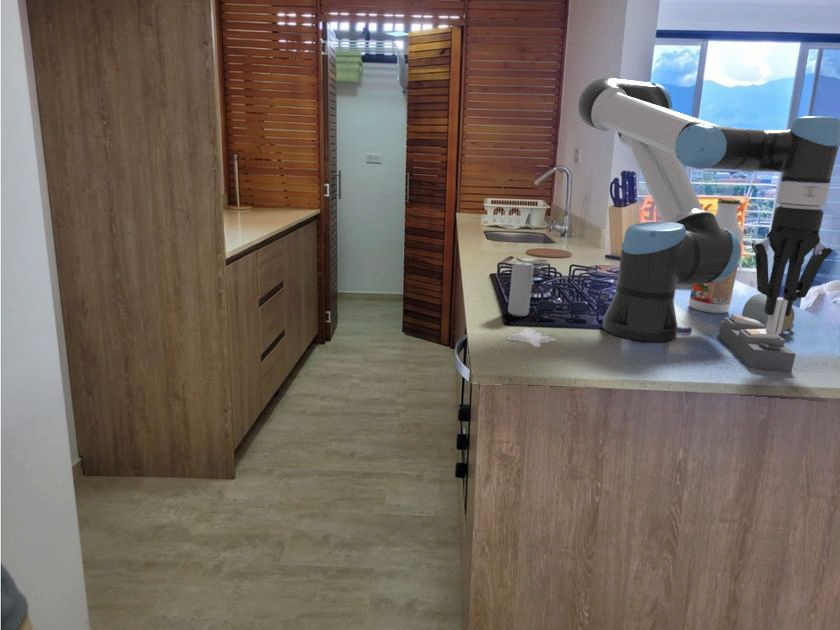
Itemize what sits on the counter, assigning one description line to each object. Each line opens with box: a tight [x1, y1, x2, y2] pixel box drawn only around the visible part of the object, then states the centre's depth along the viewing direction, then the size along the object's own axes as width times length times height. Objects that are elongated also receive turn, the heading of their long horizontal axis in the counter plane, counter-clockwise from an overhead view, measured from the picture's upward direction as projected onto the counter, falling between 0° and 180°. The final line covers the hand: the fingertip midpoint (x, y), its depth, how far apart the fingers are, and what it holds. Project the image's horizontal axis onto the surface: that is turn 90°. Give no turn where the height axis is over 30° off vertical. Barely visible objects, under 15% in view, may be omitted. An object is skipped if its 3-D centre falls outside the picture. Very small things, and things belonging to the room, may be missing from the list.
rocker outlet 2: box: [745, 329, 780, 339], centre depth 112 cm, size 5×3×1 cm
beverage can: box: [507, 260, 535, 317], centre depth 134 cm, size 5×5×12 cm
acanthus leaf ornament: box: [506, 327, 556, 348], centre depth 116 cm, size 8×7×2 cm
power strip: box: [717, 316, 796, 373], centre depth 115 cm, size 7×20×5 cm, turn 169°
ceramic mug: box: [741, 293, 795, 334], centre depth 133 cm, size 11×8×8 cm
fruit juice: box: [688, 197, 744, 314], centre depth 146 cm, size 9×9×28 cm
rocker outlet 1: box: [729, 313, 761, 325], centre depth 121 cm, size 5×3×1 cm
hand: (773, 331), depth 111 cm, fingers closed
